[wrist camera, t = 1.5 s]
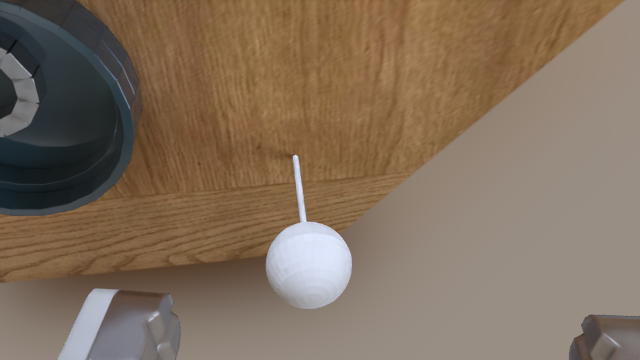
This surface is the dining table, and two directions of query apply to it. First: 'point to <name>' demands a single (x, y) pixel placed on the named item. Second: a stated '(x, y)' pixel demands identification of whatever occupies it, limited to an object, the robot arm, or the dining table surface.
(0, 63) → the ring
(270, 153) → the dining table surface
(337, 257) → the lollipop
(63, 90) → the bowl
